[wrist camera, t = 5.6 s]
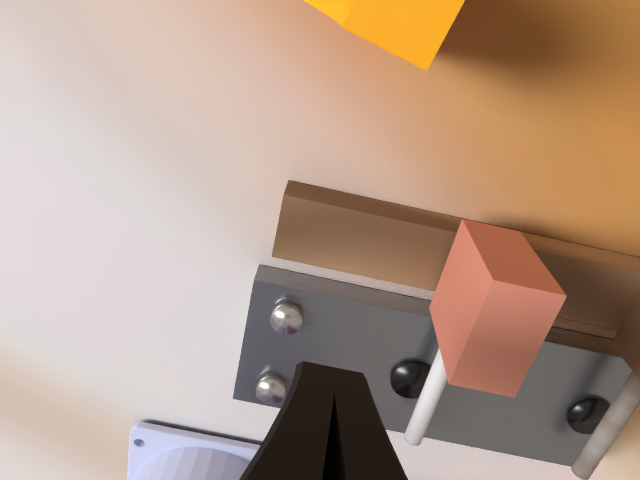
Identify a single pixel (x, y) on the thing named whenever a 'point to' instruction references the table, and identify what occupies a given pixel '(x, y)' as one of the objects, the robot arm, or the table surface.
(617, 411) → the trammel bar
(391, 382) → the strip
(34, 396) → the table surface
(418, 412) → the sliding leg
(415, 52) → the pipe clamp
